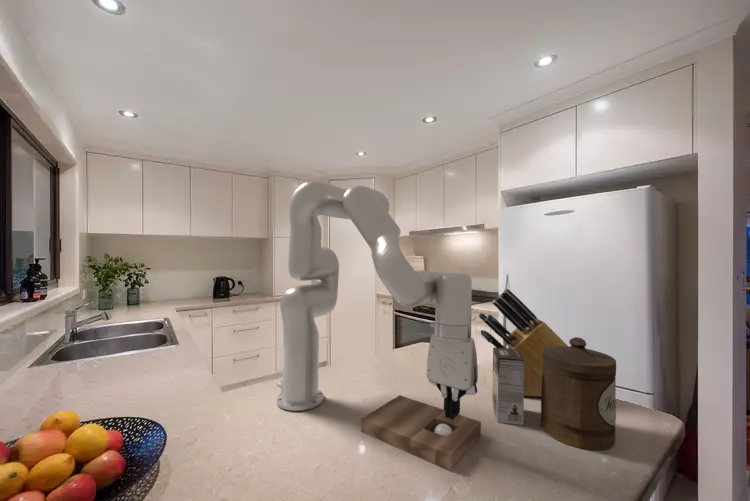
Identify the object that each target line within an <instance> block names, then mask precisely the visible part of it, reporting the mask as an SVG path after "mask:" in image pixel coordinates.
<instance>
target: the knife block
mask: <svg viewBox="0 0 750 501" xmlns="http://www.w3.org/2000/svg"><path fill="white" fill-rule="evenodd" d="M491 303H492V305H494V306H495V307H496V309H497V310H498V311H499V312H500V313H501V314H502V315H503V316H504V317H505V318H506V319H507V320H508V321H510V323H511V324H512V325H513V326H514V327H516V328H515V329H514V330H512V331H511V332H510V331H509V330H507V329H506V328H505V326H504V325H503V324H502V323H501V322H499V321H498V319H497V318H496V317H495V316H493V315H492V314H488V315H485V314H484V313H483V312H481V313H479V314H478V317H479V318H480V319H481V320H482V321H483V322H484V323H485V324H486V325H487V327H489V328H490V329H491V330H492V331H493V332H494V333H495V334H496V335H497V336H499V337H500V338H501V339H502V341H503V342H504V344H505V345H506V346H507V347H508V348H509V349H518V351H519V352H520V354H521V355H522V357H523V358H524V360H525V361H524V397H525V396H527V397H541V389H542V369H543V350H544V348H546V347H551V346H569V345H568V344H567V343H566V342H565V341H564V340H563V339H562V338H561V337H560V336H559V335H558V334H557V333H556V332H555V331H554V330H553V329H552V328H550V326H549V325H548V324H547V323H546V322H544V321H542V320H540V319H539V318H538V317H537V316H536V315H535V313H534V312H532V311H531V309H529V307H527V306H526V304H525V303H524V302H523V301H522V300H521V299H520V298H519V297H517V295H515V294H514V293H513V292H512V291H511V290H510V289H508V288H505V289H504V290H503V292H502V293H501V294H500V295H498V297H497V298H494V299H493V300H492V301H491ZM480 334H481V336H482V337H483V338H484V339H485V340H486V341H487V342H488V343H490V344H492V346H494V348H506V347H505V346H504V345H503V344H502V343H501V342H500V341H498V339H496V338H495V337H494V335H492V334H490V332H488V331H486V330H483V329H481V330H480Z"/></svg>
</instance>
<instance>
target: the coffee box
mask: <svg viewBox="0 0 750 501" xmlns="http://www.w3.org/2000/svg"><path fill="white" fill-rule="evenodd" d="M524 361H525V360H524V358H523V357H522V355H521V354H520V352H519V351H518V349H509V347H507V348H506V347H505V348H496V347H492V409H493V411H494V412H493V413H494V416H495V419H496V422H497V423H500V424H501V423H502V424H512V425H519V426H520V425H521V426H524V407H525V406H524V404H525V403H524V402H525V401H524V398H525V396H524Z"/></svg>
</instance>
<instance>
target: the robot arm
mask: <svg viewBox="0 0 750 501" xmlns="http://www.w3.org/2000/svg"><path fill="white" fill-rule="evenodd" d="M288 208H289V224H290V226H289V227H290V230H289V241H288V242H289V245H288V262H287V263H288V264H287V266H288V273H289V275H290V277H292V279H293V280H296V281H306V282H307V281H310V284H302V285H296V286H293V287H290V288H288V289H287V290H286V291H285V292H284V293H283V294H282V295H281V298H280V304H279V307H280V314H281V319H282V328H283V329H282V330H283V350H282V352H283V354H282V355H283V356H282V358H283V359H282V360H283V362H282V377H281V379H280V381H278V382H277V383H276V387H278V388H280V393H279V394H278V395H277V396H276V405H277V407H279V408H280V409H282V410H287V411H293V412H294V411H295V412H298V411H307V410H311V409H314V408H316V407H318V406H320V405H321V404H322V403H323V401H324V398H325V397H324V392H322V390H320V389H319V360H320V359H319V357H320V356H319V355H320V353H319V352H320V351H319V350H320V349H319V348H320V334H319V330H318V327H317V324H316V322H315V319H316V318H318V317H319V318H320V317H322V316H325V315H328V314H330V313H332V312H333V310H334V309H335V307H336V305H337V301H338V294H339V292H338V291H339V290H338V289H339V277H340V276H339V275H340V265H339V264H340V263H339V259H338V256H337V254H336V253H335V251H334V250H332V249H331V248H329V247H326V246H322V236H323V235H322V233H323V231H322V228H321V223H320V222H319V219H318V216H326V217H330V218H335V219H342V220H343V219H344V220H350V221H351V222H352V223H353V225H354V226H355V228H356V230H357V231H358V232H359V234H360V235H361V237H362V238H363V240H364V241H365V242H366V243H367V245H368V247H369V249H370V250H371V251H370V252H371V258H372V263H373V265H374V266H373V267H374V269H375V272H376V274H377V276H378V278H379V279H380V281H381V283H382V285H384V287H385V288H386V290H387V291H388V293H389V294H390V295H391V297H392V298H393V299H394V300H395V301H396V302H397V303H398V304H400V305H401V306H403V307H405V308H416V307H419V306H423V305H425V304H429V303H435V318H434V319H435V320H434V321H430V324H429V327H430V328H432V329H433V331H434V333H433V334H431V336H430V341H429V346H428V349H427V350H428V352H427V360H426V378H427V380H428V383H429V384H431V385H433V386H434V387H437V389H438V390H439V392H440V394H441V397H442V398H443V410H444V411H445V417H446V418H450V419H452V420H453V419H454V418H455V417H456V416H457V415H458V414H459V415H460V412H461V398H462V397H463V396H465V395H466V396H475V395H476V394H477V393H478V386H477V384H478V378H479V372H478V370H479V369H478V368H479V367H478V365H479V364H478V356H477V348H476V343H475V339H474V337H472V298H473V297H472V293H473V292H472V290H473V288H472V287H473V283H472V277H471V276H470V275H469V274H467V273H461V272H460V273H459V272H442V273H441V272H436V271H431V270H423V269H422V270H415V269H414V268H413V266H411V264H410V262H409V261H408V259H407V258H406V257H405V255H404V253H403V251H402V250H401V247H400V244H399V239H400V235H401V228H400V227H399V225H398V224H397V223H396V221H395V220H394V218H393V217H392V216H391V214H390V213H389V212H390V203H389V199H388V198H387V196H386V195H385V194H384V193H383V192H381V191H379V190H377V189H374V188H371V187H369V186H366V185H355V186H354V185H353V186H351V187H350V188H342V187H339V186H335V185H332V184H330V183H327V182H323V181H317V180H312V181H306V182H304V183H302V184H300V185H299V186H298V187H297V188H296V189H295V190H294V192H293V193H292V196H291V198H290V201H289V207H288Z"/></svg>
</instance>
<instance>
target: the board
mask: <svg viewBox="0 0 750 501" xmlns="http://www.w3.org/2000/svg"><path fill="white" fill-rule="evenodd" d="M360 421H361V423H360V424H361V425H360V426H361V427H360V430H361V433H364V434H366V435H368V436H370V437H371V438H372V437H373V438H375V439H377V440H380V441H382V442H384V443H386V444H388V445H391V446H392V447H395V448H396V449H397V448H398V449H399V450H402V451H404V452H406V453H409V454H410V455H413V456H415V457H418V458H419V459H422V460H424V461H427V462H428V463H431V464H434V465H436V466H437V467H440V468H443V469H444V470H447V471H449V472H452V471H453V469H454V468H455V466H456V465H457V464H458V463H460V461H461V460H462V459H463V457H464V456H465V454H466V453H468V451H469V450H470V449H471V447H472V446H473V445H474V443H475V442H476V441H477V440H478V439H479V438H480V437H481V435H482V432H481V431H482V428H481V427H482V426H481V425H482V423H481V421H480V420H476V419H473V418H470V417H467V416H464V415H461V414H460V413H459V414H458V415H457V416H456V417H455V418H454V419H453V420H452V419H450V418H446V417H445V411H444V408H440V407H438V406H434V405H431V404H428V403H425V402H421V401H420V400H415V399H412V398H410V397H406V396H404V395H398V396H396V397H395V398H393V399H390V400H389V401H387V402H386V403H385V404H382V405H381V406H379V407H378V408H376V409H374V410H372V412H370V413H368V414H367V415H365V416H363V417H361V420H360ZM439 424H447V425H448V426H449V427H450V428H451V429H452V433H451V434H450V435H449V436H448V437H445V436H442V435H439V434H437V433H434V430H435V428H436V426H437V425H439Z"/></svg>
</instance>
